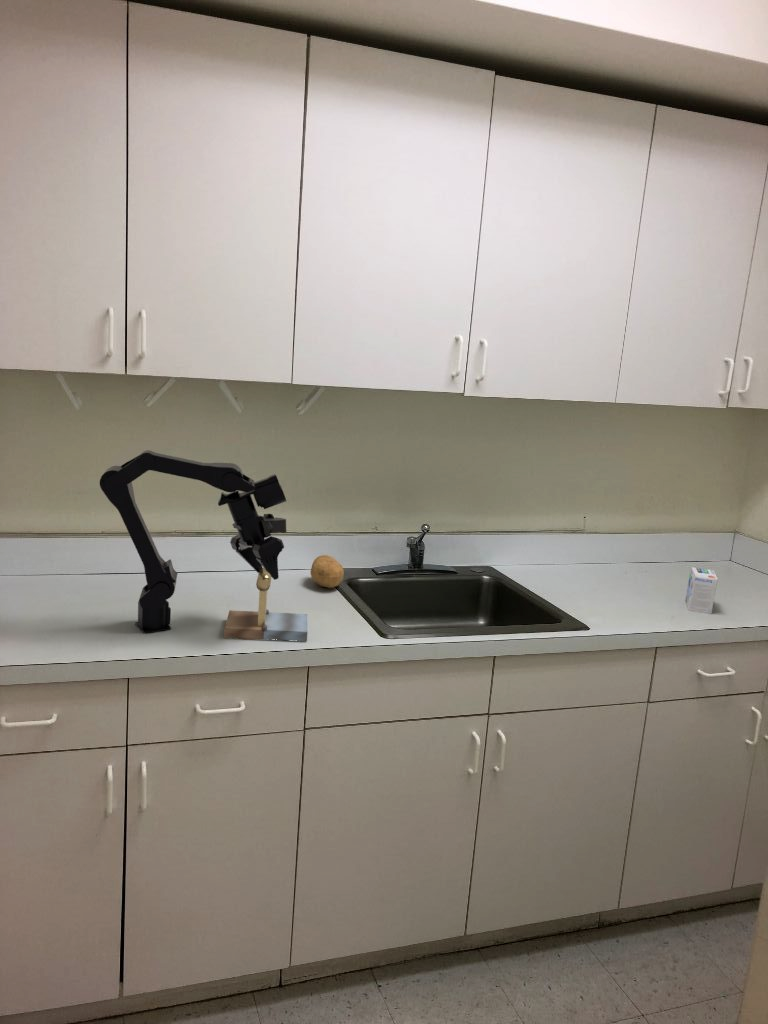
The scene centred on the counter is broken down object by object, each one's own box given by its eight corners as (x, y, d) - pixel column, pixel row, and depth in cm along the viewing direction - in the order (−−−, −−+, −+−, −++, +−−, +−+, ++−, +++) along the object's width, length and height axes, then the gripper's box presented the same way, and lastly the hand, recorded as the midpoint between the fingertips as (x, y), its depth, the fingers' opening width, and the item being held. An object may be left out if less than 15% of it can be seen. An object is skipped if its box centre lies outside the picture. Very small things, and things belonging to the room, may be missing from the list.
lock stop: (254, 626, 188) (256, 577, 186) (256, 613, 196) (258, 567, 194) (267, 626, 189) (270, 578, 186) (269, 614, 197) (272, 568, 194)
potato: (313, 594, 223) (315, 566, 221) (305, 578, 236) (307, 552, 234) (348, 594, 225) (350, 566, 224) (338, 578, 239) (340, 552, 237)
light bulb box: (684, 600, 247) (690, 566, 245) (707, 603, 245) (713, 569, 243) (688, 610, 237) (694, 575, 234) (712, 614, 235) (718, 579, 233)
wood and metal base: (224, 638, 186) (224, 625, 186) (228, 620, 198) (229, 607, 197) (306, 641, 189) (307, 628, 188) (306, 623, 200) (307, 611, 199)
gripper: (291, 505, 183) (314, 566, 187) (259, 499, 199) (281, 556, 203) (248, 525, 178) (273, 588, 182) (219, 517, 194) (242, 575, 198)
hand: (268, 576), depth 192 cm, fingers open, 9 cm apart
